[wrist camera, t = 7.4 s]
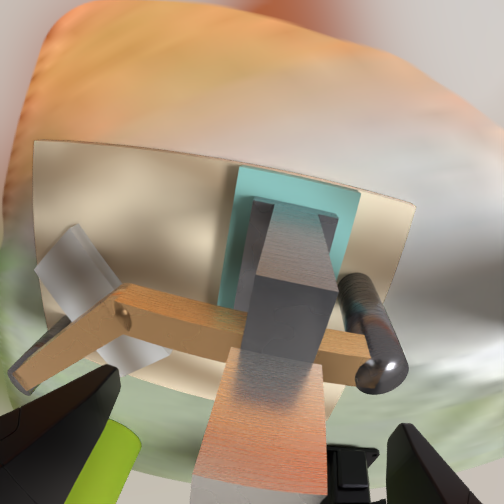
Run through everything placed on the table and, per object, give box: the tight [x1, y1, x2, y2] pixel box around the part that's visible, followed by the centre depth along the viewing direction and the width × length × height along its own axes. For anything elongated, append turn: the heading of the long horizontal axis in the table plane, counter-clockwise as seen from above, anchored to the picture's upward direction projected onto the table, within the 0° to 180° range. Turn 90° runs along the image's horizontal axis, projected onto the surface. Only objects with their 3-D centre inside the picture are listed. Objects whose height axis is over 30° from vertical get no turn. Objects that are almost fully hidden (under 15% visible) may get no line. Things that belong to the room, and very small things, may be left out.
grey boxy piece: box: [190, 196, 339, 504], centre depth 11 cm, size 4×8×12 cm, turn 170°
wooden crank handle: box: [8, 272, 409, 396], centre depth 16 cm, size 6×23×7 cm, turn 104°
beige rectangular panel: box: [33, 139, 416, 421], centre depth 19 cm, size 17×24×2 cm
